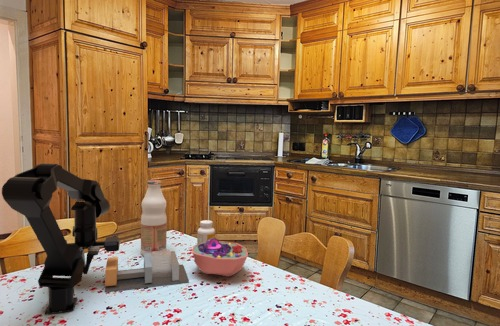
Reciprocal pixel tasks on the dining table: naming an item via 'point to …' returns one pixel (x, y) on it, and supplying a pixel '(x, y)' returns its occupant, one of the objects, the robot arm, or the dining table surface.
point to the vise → (134, 283)
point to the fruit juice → (153, 219)
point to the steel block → (161, 263)
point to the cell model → (219, 257)
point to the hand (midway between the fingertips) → (85, 273)
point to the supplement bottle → (205, 231)
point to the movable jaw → (114, 274)
